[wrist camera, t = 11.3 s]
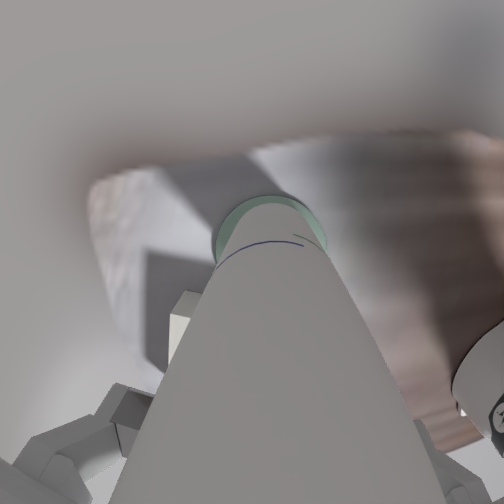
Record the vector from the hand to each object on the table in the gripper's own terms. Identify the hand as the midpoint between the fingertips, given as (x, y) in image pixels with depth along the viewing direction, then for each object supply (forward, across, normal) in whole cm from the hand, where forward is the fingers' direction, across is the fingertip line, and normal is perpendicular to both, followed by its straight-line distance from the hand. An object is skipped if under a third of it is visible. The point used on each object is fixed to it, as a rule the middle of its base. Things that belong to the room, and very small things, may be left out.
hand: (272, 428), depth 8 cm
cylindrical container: (+20, 0, -1) cm, 20 cm away
